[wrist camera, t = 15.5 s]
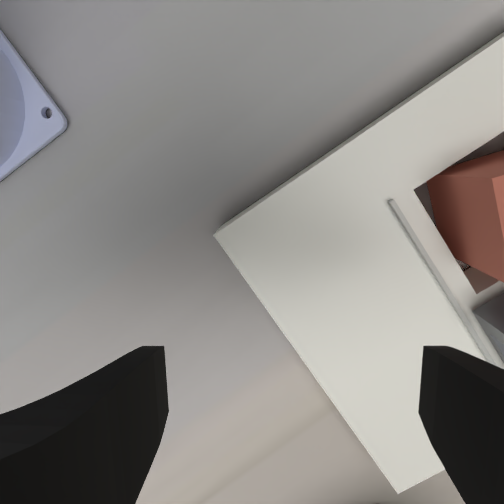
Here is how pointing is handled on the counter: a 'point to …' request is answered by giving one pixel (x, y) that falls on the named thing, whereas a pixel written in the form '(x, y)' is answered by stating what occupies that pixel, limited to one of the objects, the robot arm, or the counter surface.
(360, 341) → the socket board
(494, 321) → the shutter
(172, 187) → the counter surface
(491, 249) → the plug
